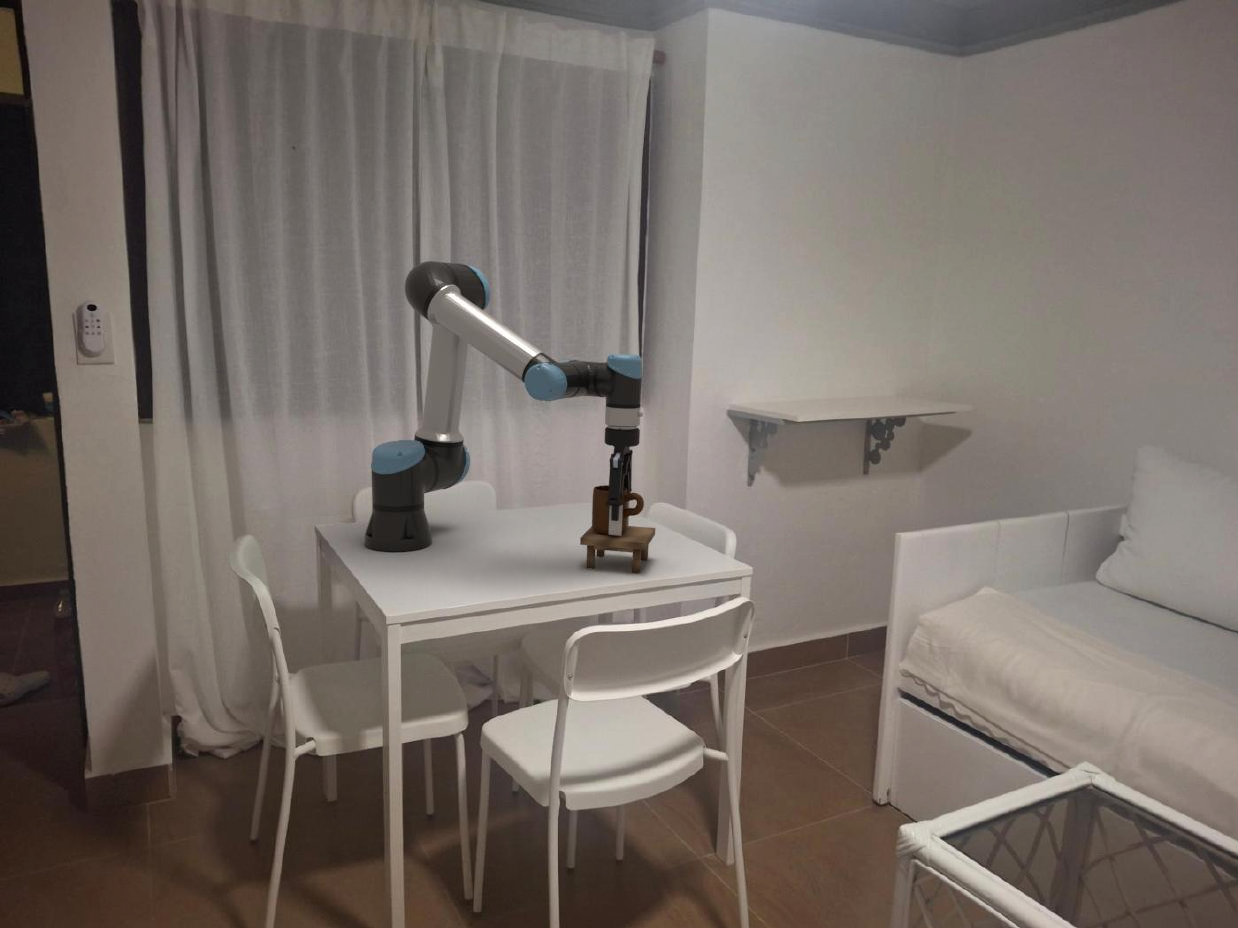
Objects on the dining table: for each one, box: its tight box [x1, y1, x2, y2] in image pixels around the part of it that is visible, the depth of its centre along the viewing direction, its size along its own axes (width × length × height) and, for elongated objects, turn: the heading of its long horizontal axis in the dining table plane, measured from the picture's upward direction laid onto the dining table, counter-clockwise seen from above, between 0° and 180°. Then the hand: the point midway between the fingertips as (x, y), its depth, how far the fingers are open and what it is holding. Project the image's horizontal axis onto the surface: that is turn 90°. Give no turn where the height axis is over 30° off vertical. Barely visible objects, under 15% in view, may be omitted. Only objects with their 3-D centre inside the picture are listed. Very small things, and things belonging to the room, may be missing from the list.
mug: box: [591, 484, 645, 534], centre depth 196 cm, size 12×8×9 cm, turn 62°
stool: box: [579, 525, 656, 574], centre depth 198 cm, size 14×14×7 cm
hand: (618, 530), depth 197 cm, fingers closed on mug, 7 cm apart
